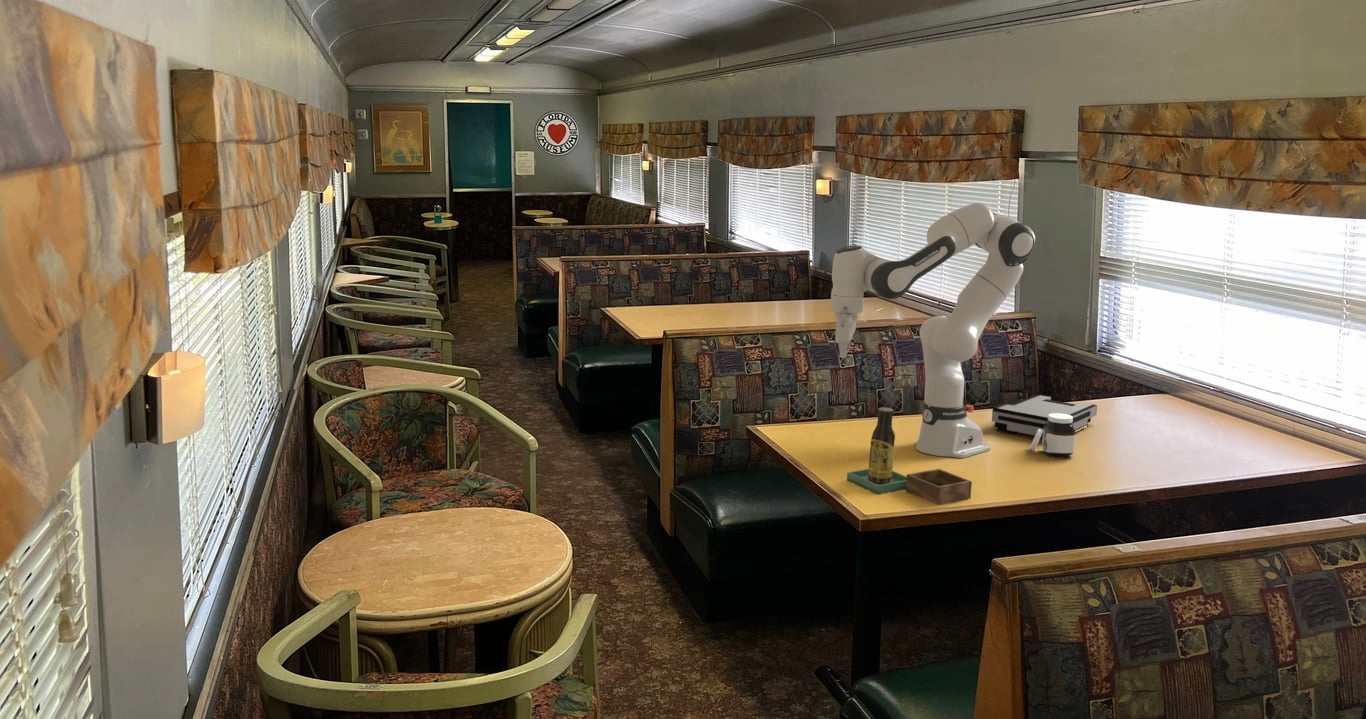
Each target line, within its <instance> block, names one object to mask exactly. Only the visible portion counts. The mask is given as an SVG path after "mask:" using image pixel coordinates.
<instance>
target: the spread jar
mask: <svg viewBox="0 0 1366 719" xmlns="http://www.w3.org/2000/svg"><path fill="white" fill-rule="evenodd" d="M1072 422H1073V417H1072V416H1071V415H1067V414H1061V413H1052V414H1049V415H1048V421H1047V422H1046V423H1045V425H1044V428H1043V430H1041V429H1038V431H1037V433H1036V435H1034V438H1033V439H1032V441H1031V443H1030V446H1029V451H1032V452H1034V451H1035V450H1036V448H1037V447H1038V444H1039V442H1040V441H1041V447H1042V451H1043V453H1044V455H1046V456H1048V455H1049V457H1051V456H1054V457H1053V458H1057V457H1066V458H1069V457H1070V456H1073V454H1074V453H1075V452H1074V451H1075V447H1076V446H1075V445H1076V433H1075V429H1074V426H1073V424H1072ZM1042 433H1043V437H1042V440H1040V438H1041V435H1042ZM1068 456H1069V457H1068Z"/></svg>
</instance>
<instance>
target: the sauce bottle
mask: <svg viewBox="0 0 1366 719" xmlns="http://www.w3.org/2000/svg"><path fill="white" fill-rule="evenodd" d="M893 415H894V409H893V408H892V407H879V408H878V409H877V422H876V426H875V429H874V430H873V432H872V435H871V438H870V449H869V457H868V458H869V461H868V468H867V469H868V474H869V476H868V479H869V480H870V481H871V482H874V483H879V484H885V483H889V482H890V481H891V477H892V471H893V467H894V456H895V441H896V434H895V431H894V430H893V423H892V422H893Z"/></svg>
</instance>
